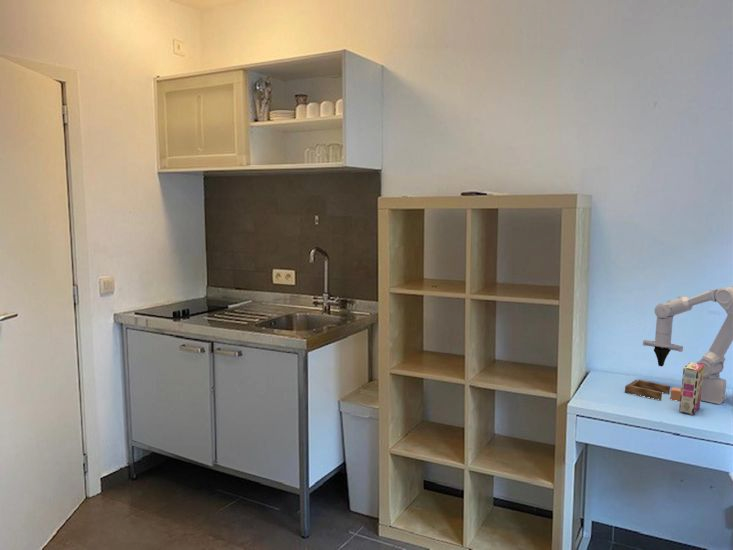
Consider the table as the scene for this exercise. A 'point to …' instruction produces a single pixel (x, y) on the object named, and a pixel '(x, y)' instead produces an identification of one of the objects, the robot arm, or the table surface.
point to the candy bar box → (691, 388)
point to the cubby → (647, 389)
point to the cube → (675, 393)
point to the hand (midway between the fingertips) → (660, 365)
